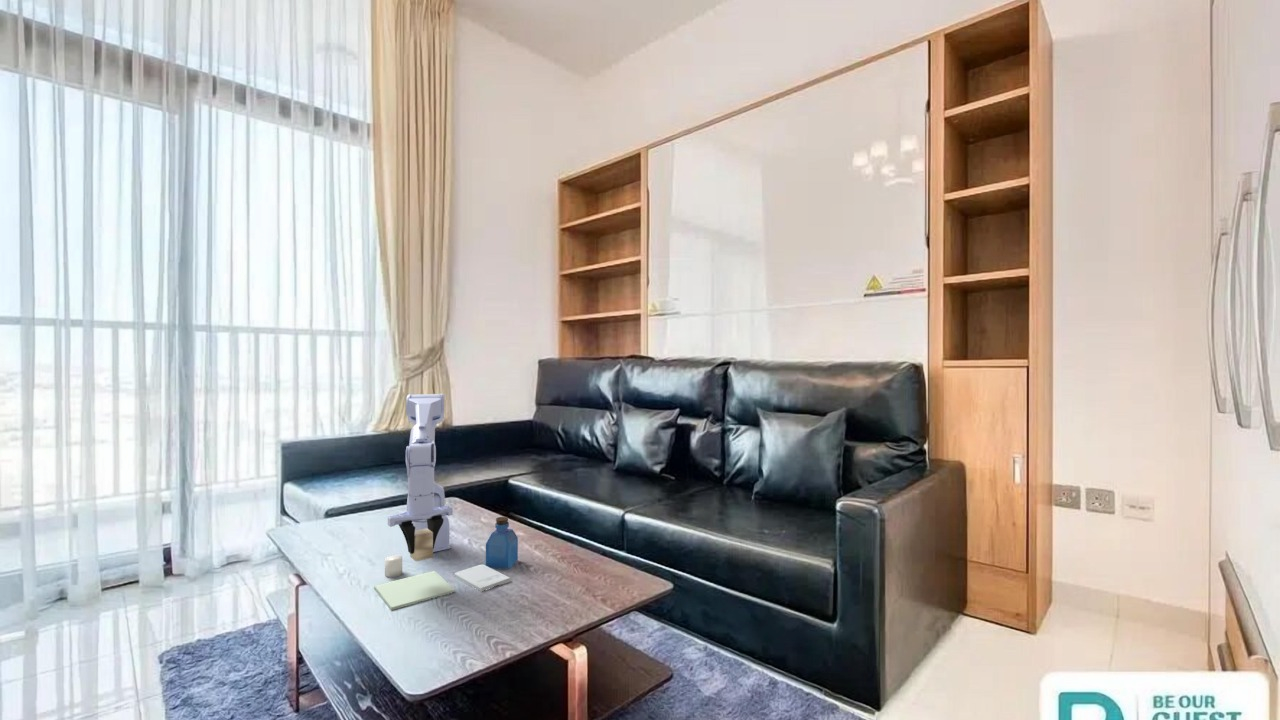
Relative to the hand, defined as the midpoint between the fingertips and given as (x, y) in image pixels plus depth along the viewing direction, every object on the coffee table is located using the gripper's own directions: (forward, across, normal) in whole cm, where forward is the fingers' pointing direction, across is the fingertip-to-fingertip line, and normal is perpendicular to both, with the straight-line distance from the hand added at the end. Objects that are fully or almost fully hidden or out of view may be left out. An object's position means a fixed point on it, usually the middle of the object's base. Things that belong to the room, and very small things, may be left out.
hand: (421, 550), depth 130 cm
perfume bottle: (+9, +21, 0) cm, 23 cm away
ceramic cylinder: (+8, -3, +11) cm, 15 cm away
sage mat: (+8, -2, -2) cm, 9 cm away
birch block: (+2, 0, 0) cm, 2 cm away
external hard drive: (+9, +13, -6) cm, 17 cm away
